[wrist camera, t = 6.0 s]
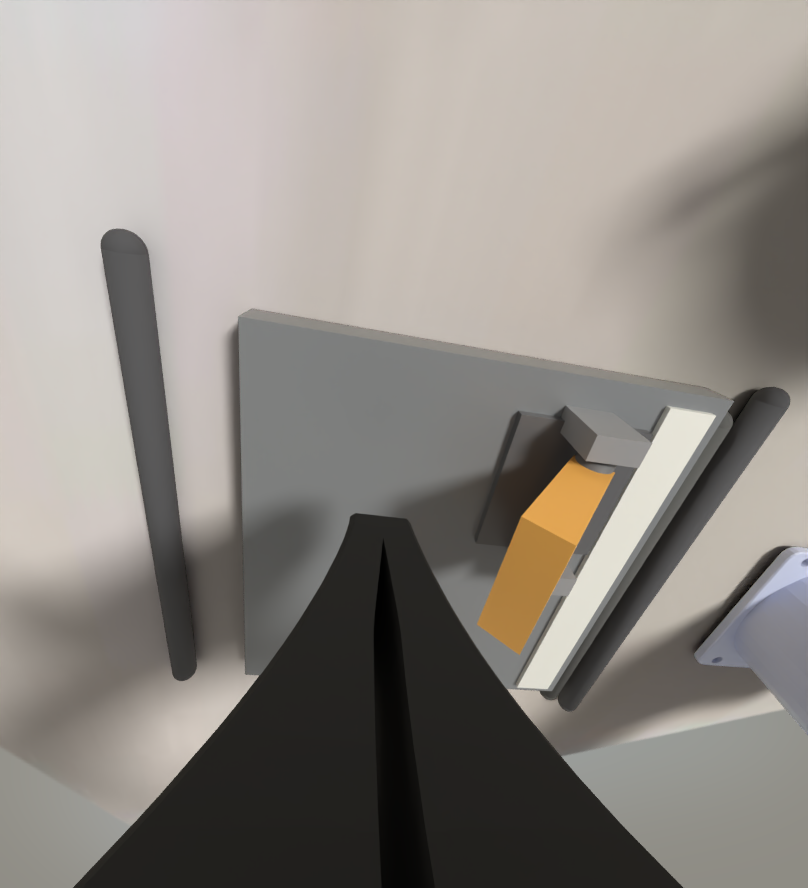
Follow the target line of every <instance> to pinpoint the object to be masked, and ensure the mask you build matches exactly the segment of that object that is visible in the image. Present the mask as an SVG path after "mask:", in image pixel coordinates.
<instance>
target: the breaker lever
mask: <svg viewBox="0 0 808 888" xmlns="http://www.w3.org/2000/svg"><path fill="white" fill-rule="evenodd" d="M616 466H617V465H611V464H604V463H597V462H590V461H585V460H584V459H583V458H582V456H581V455H580V454H579V453H578V452H577V454H576V456H575V455H574V456H573V457H572V458H571V459H570V460H569V461H568V463H567V464H566V465H565V466H564V467H563V468H562V470H561V471H560V472H559V473H558V474H557V475H556V477H555V478H554V479H553V480H552V481H551V482H550V484H549V485H548V486H547V487H546V488H545V489H544V490H543V492H542V493H541V494H540V495H539V496H538V497H537V499H536V500H535V501H534V502H533V503H532V504H531V506H530V507H529V508H528V509H527V510H526V511H525V513H524V514H523V515H522V516H521V518H520V521H519V523H518V526H517V528H516V530H515V533H514V535H513V538H512V540H511V543H510V545H509V547H508V550H507V552H506V555H505V557H504V560H503V562H502V564H501V567H500V569H499V572H498V574H497V577H496V579H495V581H494V584H493V586H492V589H491V591H490V594H489V596H488V598H487V601H486V603H485V606H484V608H483V611H482V613H481V615H480V618H479V620H478V623H477V625H478V626H480V627H481V628H482V629H484V630H485V631H487V632H488V633H489V634H491V635H492V636H494V637H495V638H496V639H498V640H499V641H500V642H502V643H503V644H505V645H506V646H507V647H509V648H510V649H512V650H513V651H514V652H516V653H517V654H519V655H520V653H521V651H522V649H523V648H524V646H525V644H526V642H527V640H528V638H529V636H530V634H531V632H532V630H533V629H534V627H535V625H536V623H537V621H538V619H539V617H540V615H541V613H542V611H543V610H544V608H545V606H546V604H547V602H548V600H549V598H550V596H551V594H552V592H553V591H554V589H555V587H556V585H557V583H558V581H559V579H560V577H561V575H562V574H563V572H564V570H565V568H566V566H567V564H568V562H569V560H570V558H571V556H572V554H573V553H574V551H575V549H576V547H577V545H578V543H579V541H580V539H581V537H582V535H583V533H584V531H585V530H586V528H587V526H588V524H589V522H590V520H591V518H592V516H593V514H594V512H595V510H596V508H597V507H598V505H599V503H600V501H601V499H602V497H603V495H604V493H605V491H606V489H607V487H608V485H609V484H610V482H611V480H612V478H613V476H614V474H615V472H614V470H615V468H616Z"/></svg>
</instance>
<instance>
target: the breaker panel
mask: <svg viewBox="0 0 808 888" xmlns="http://www.w3.org/2000/svg"><path fill="white" fill-rule="evenodd" d="M238 327H239V378H240V428H241V479H242V529H243V580H244V630H245V674H246V675H261V673H262V672H263V671H264V669H265V668H266V667H267V665H268V664H269V663H270V661H271V660H272V658H273V657H274V656H275V654H276V653H277V652H278V650H279V649H280V647H281V646H282V645H283V643H284V642H285V640H286V639H287V637H288V636H289V634H290V633H291V632H292V630H293V629H294V627H295V626H296V624H297V623H298V621H299V620H300V618H301V616H302V615H303V613H304V612H305V610H306V608H307V607H308V605H309V603H310V602H311V600H312V598H313V597H314V595H315V594H316V592H317V590H318V589H319V587H320V585H321V584H322V582H323V580H324V578H325V576H326V574H327V572H328V570H329V568H330V567H331V565H332V563H333V561H334V559H335V557H336V555H337V553H338V551H339V548H340V546H341V544H342V542H343V539H344V537H345V534H346V531H347V528H348V524H349V520H350V516H351V515H353V514H355V513H360V514H369V515H378V516H387V517H396V518H405V519H408V521H409V522H410V523H411V526H412V529H413V531H414V533H415V536H416V538H417V540H418V543H419V545H420V547H421V549H422V551H423V554H424V556H425V558H426V560H427V562H428V564H429V566H430V568H431V570H432V572H433V574H434V576H435V578H436V579H437V581H438V583H439V585H440V587H441V589H442V590H443V592H444V594H445V596H446V598H447V600H448V601H449V603H450V605H451V606H452V608H453V610H454V612H455V613H456V615H457V617H458V618H459V620H460V621H461V623H462V625H463V626H464V628H465V630H466V631H467V633H468V634H469V636H470V637H471V639H472V641H473V642H474V644H475V645H476V647H477V648H478V650H479V651H480V653H481V654H482V656H483V657H484V659H485V660H486V661H487V663H488V664H489V666H490V667H491V668H492V670H493V671H494V673H495V674H496V675H497V677H498V678H499V680H500V681H501V682H502V684H503V685H504V686H505V688H506V689H520V690H538V691H552V690H553V689H554V687H555V685H556V684H557V682H558V681H559V679H560V677H561V676H562V674H563V673H564V671H565V670H566V668H567V666H568V665H569V663H570V662H571V660H572V658H573V657H574V655H575V654H576V652H577V650H578V649H579V647H580V646H581V644H582V643H583V641H584V639H585V638H586V636H587V635H588V633H589V631H590V630H591V628H592V627H593V625H594V623H595V622H596V620H597V619H598V617H599V615H600V614H601V612H602V611H603V609H604V608H605V606H606V604H607V603H608V601H609V600H610V598H611V596H612V595H613V593H614V592H615V590H616V588H617V587H618V585H619V584H620V582H621V581H622V579H623V577H624V576H625V574H626V573H627V571H628V569H629V568H630V566H631V565H632V563H633V561H634V560H635V558H636V557H637V555H638V553H639V552H640V550H641V549H642V547H643V546H644V544H645V542H646V541H647V539H648V538H649V536H650V534H651V533H652V531H653V530H654V528H655V526H656V525H657V523H658V522H659V520H660V518H661V517H662V515H663V514H664V512H665V511H666V509H667V507H668V506H669V504H670V503H671V501H672V499H673V498H674V496H675V495H676V493H677V491H678V490H679V488H680V487H681V485H682V484H683V482H684V480H685V479H686V477H687V476H688V474H689V472H690V471H691V469H692V468H693V466H694V464H695V463H696V461H697V460H698V458H699V456H700V455H701V453H702V452H703V450H704V449H705V447H706V445H707V444H708V442H709V441H710V439H711V437H712V436H713V434H714V433H715V431H716V429H717V428H718V426H719V425H720V423H721V422H722V420H723V418H724V417H725V415H726V414H727V412H728V410H729V409H730V407H731V406H732V404H733V402H734V401H733V400H731V399H729V398H727V397H725V396H722V395H720V394H718V393H716V392H714V391H712V390H710V389H708V388H705V387H699V386H693V385H688V384H682V383H676V382H670V381H665V380H659V379H653V378H647V377H642V376H636V375H630V374H624V373H619V372H613V371H607V370H601V369H596V368H590V367H584V366H578V365H573V364H567V363H561V362H555V361H550V360H544V359H538V358H532V357H527V356H521V355H515V354H509V353H504V352H498V351H492V350H487V349H481V348H475V347H469V346H464V345H458V344H452V343H446V342H441V341H435V340H429V339H423V338H418V337H412V336H406V335H400V334H395V333H389V332H383V331H377V330H372V329H366V328H360V327H354V326H349V325H343V324H337V323H331V322H326V321H320V320H314V319H308V318H303V317H297V316H291V315H285V314H280V313H274V312H268V311H262V310H257V309H250V310H249V311H247V312H245V313H243V314H242V315H240V316H238ZM577 452H578V453H579V454H580V455H581V456H582V458H583V459H584V460H585V461H590V462H597V463H604V464H611V465H617V466H616V468H615V470H614V472H615V474H614V476H613V478H612V480H611V482H610V484H609V485H608V487H607V489H606V491H605V493H604V495H603V497H602V499H601V501H600V503H599V505H598V507H597V508H596V510H595V512H594V514H593V516H592V518H591V520H590V522H589V524H588V526H587V528H586V530H585V531H584V533H583V535H582V537H581V539H580V541H579V543H578V545H577V547H576V549H575V551H574V553H573V554H572V556H571V558H570V560H569V562H568V564H567V566H566V568H565V570H564V572H563V574H562V575H561V577H560V579H559V581H558V583H557V585H556V587H555V589H554V591H553V592H552V594H551V596H550V598H549V600H548V602H547V604H546V606H545V608H544V610H543V611H542V613H541V615H540V617H539V619H538V621H537V623H536V625H535V627H534V629H533V630H532V632H531V634H530V636H529V638H528V640H527V642H526V644H525V646H524V648H523V649H522V651H521V653H520V655H519V654H517V653H516V652H514V651H513V650H512V649H510V648H509V647H507V646H506V645H505V644H503V643H502V642H500V641H499V640H498V639H496V638H495V637H494V636H492V635H491V634H489V633H488V632H487V631H485V630H484V629H482V628H481V627H480V626H478V625H477V623H478V620H479V618H480V615H481V613H482V611H483V608H484V606H485V603H486V601H487V598H488V596H489V594H490V591H491V589H492V586H493V584H494V581H495V579H496V577H497V574H498V572H499V569H500V567H501V564H502V562H503V560H504V557H505V555H506V552H507V550H508V547H509V545H510V543H511V540H512V538H513V535H514V533H515V530H516V528H517V526H518V523H519V521H520V518H521V516H522V515H523V514H524V513H525V511H526V510H527V509H528V508H529V507H530V506H531V504H532V503H533V502H534V501H535V500H536V499H537V497H538V496H539V495H540V494H541V493H542V492H543V490H544V489H545V488H546V487H547V486H548V485H549V484H550V482H551V481H552V480H553V479H554V478H555V477H556V475H557V474H558V473H559V472H560V471H561V470H562V468H563V467H564V466H565V465H566V464H567V463H568V461H569V460H570V459H571V458H572V457H573V456H574V455H575V456H576V454H577Z"/></svg>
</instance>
